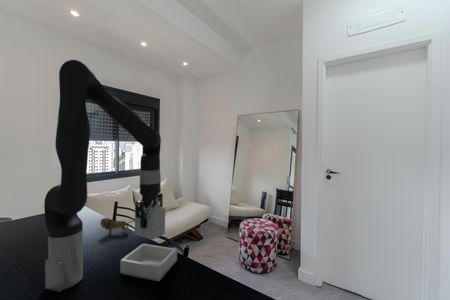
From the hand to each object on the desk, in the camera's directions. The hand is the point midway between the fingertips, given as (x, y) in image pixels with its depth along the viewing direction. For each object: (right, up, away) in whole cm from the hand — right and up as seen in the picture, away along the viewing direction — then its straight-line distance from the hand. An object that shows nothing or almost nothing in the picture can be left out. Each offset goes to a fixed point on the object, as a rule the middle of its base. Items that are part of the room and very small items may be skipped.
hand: (150, 223), depth 79 cm
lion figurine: (-29, -16, +28) cm, 43 cm away
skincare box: (0, -4, 0) cm, 4 cm away
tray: (0, -17, 0) cm, 17 cm away
